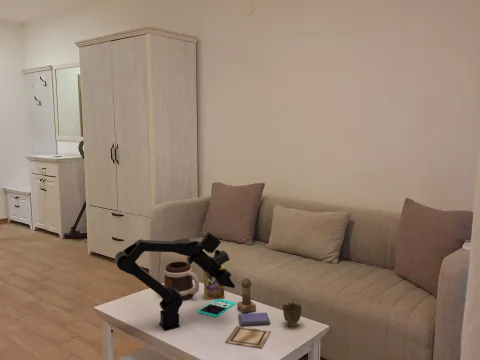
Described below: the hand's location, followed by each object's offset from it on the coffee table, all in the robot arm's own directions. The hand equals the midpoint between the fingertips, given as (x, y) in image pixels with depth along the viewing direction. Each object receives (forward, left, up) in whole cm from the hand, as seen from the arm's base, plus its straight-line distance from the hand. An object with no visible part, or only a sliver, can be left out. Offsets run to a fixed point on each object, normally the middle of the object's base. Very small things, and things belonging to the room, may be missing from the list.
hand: (229, 283), depth 179 cm
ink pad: (+5, -11, -13) cm, 18 cm away
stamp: (+8, -1, -13) cm, 15 cm away
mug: (-10, +28, -14) cm, 32 cm away
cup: (+16, -22, -13) cm, 30 cm away
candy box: (+2, +19, -13) cm, 23 cm away
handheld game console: (-2, +8, -14) cm, 16 cm away
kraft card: (-4, -22, -13) cm, 26 cm away
